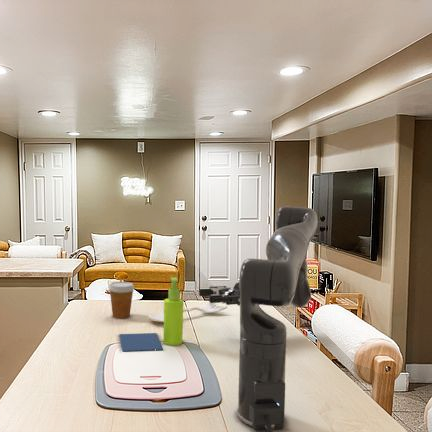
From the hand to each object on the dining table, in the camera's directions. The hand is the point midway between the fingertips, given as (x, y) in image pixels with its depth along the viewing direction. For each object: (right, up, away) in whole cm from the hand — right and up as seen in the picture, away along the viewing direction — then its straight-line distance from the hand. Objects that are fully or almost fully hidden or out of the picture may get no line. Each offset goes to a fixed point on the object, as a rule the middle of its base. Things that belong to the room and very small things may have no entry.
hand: (204, 295), depth 136 cm
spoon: (-3, -12, +23) cm, 27 cm away
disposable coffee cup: (-27, -12, +24) cm, 39 cm away
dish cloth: (-20, -14, -3) cm, 25 cm away
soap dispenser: (-10, -14, -1) cm, 17 cm away
